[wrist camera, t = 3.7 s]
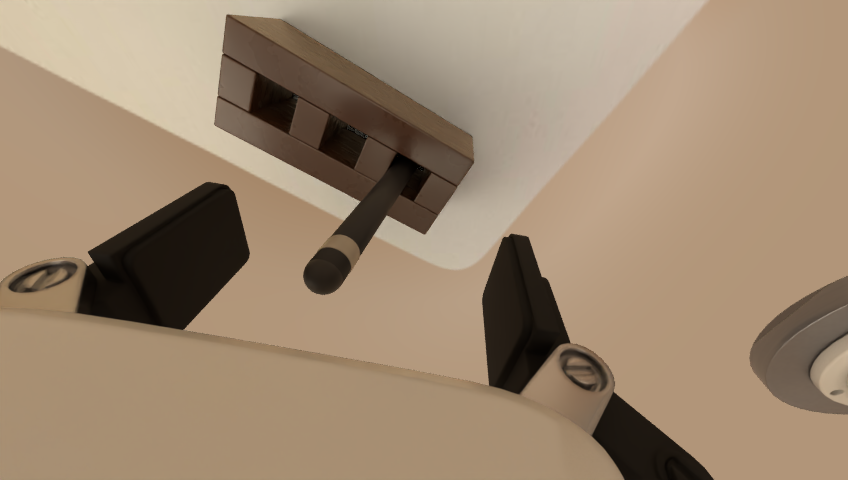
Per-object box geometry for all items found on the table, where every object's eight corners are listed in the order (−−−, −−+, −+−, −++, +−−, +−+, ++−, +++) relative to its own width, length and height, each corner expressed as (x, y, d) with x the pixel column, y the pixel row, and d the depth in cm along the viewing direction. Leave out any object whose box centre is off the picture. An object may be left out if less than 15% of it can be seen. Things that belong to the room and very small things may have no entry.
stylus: (427, 143, 19) (333, 277, 8) (424, 162, 20) (335, 307, 9) (408, 139, 19) (292, 267, 8) (406, 158, 20) (296, 297, 9)
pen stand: (279, 18, 16) (225, 13, 12) (472, 136, 19) (474, 161, 15) (262, 107, 19) (213, 125, 15) (431, 200, 21) (424, 235, 18)
